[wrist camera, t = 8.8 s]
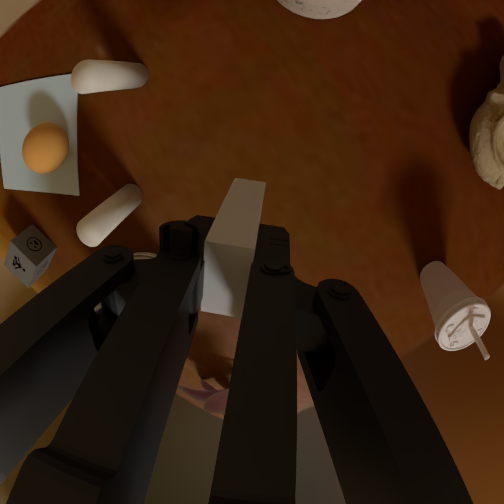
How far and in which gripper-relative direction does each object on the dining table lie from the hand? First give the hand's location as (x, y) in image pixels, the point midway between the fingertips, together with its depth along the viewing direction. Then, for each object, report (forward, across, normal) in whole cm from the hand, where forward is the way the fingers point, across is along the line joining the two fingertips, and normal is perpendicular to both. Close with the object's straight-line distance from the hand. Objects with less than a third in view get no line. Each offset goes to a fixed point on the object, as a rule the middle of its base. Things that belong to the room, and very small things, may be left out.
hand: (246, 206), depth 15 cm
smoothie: (+15, +22, -10) cm, 28 cm away
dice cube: (+15, -29, -15) cm, 36 cm away
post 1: (+14, -13, +6) cm, 20 cm away
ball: (+12, -23, -1) cm, 25 cm away
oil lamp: (+15, +23, +10) cm, 29 cm away
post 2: (+14, -13, -6) cm, 20 cm away
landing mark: (+14, -27, 0) cm, 31 cm away
